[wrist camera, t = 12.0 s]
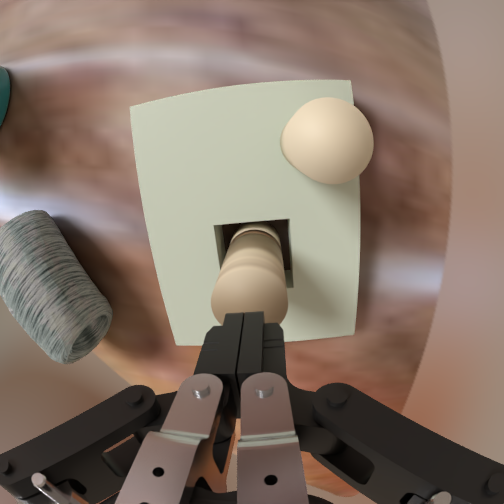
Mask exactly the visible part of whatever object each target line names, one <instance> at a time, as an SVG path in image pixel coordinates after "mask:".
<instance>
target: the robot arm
mask: <svg viewBox="0 0 504 504" xmlns="http://www.w3.org/2000/svg"><path fill="white" fill-rule="evenodd" d="M203 343H204V344H203V345H202V348H201V352H200V355H199V358H198V361H197V365H196V368H195V371H194V375H193V376H191V377H189V378H187V379H186V380H185V381H183V383H182V384H181V385H180V388H179V390H178V391H175V392H172V393H166V394H161V395H155V393H154V391H153V390H152V389H151V388H149V387H147V386H144V385H134V386H130V387H128V388H126V389H124V390H122V391H121V392H119V393H117V394H115V395H114V396H112V397H110V398H109V399H107V400H105V401H103V402H101V403H100V404H98V405H96V406H94V407H92V408H91V409H89V410H87V411H85V412H83V413H81V414H80V415H78V416H76V417H74V418H72V419H70V420H69V421H67V422H65V423H63V424H61V425H59V426H57V427H55V428H53V429H51V430H50V431H48V432H46V433H44V434H42V435H40V436H38V437H36V438H34V439H32V440H30V441H28V442H26V443H24V444H21V445H20V446H17V447H15V448H13V449H11V450H9V451H7V452H5V453H2V454H1V455H0V485H1V486H2V487H3V488H4V489H6V490H7V491H8V492H9V493H11V495H12V496H13V497H14V498H15V500H16V502H17V504H96V503H98V502H100V501H102V500H104V499H106V498H107V497H109V496H111V495H113V494H114V493H116V492H118V491H119V490H121V491H120V492H118V493H116V494H114V495H113V496H111V497H110V498H108V499H107V500H105V501H103V502H101V503H100V504H333V503H331V502H329V501H327V500H325V499H322V498H319V497H316V496H313V495H308V494H307V488H306V482H305V476H304V470H303V464H302V458H301V452H300V451H305V452H310V453H311V455H312V456H313V457H314V458H315V459H316V460H317V461H319V462H320V463H321V464H322V465H324V466H325V467H326V468H328V469H329V470H330V471H332V472H333V473H334V474H336V475H337V476H338V477H340V478H341V479H342V480H344V481H345V482H346V483H348V484H349V485H351V486H352V487H353V488H355V489H356V490H358V491H359V492H361V493H362V494H364V495H365V496H366V497H368V498H370V499H371V500H373V501H374V502H376V503H377V504H504V465H503V464H500V463H498V462H495V461H493V460H491V459H489V458H487V457H484V456H482V455H480V454H478V453H476V452H474V451H471V450H469V449H467V448H465V447H463V446H461V445H459V444H457V443H454V442H453V441H451V440H449V439H447V438H445V437H443V436H441V435H439V434H437V433H435V432H433V431H431V430H429V429H427V428H425V427H423V426H421V425H419V424H418V423H416V422H414V421H412V420H410V419H408V418H406V417H405V416H403V415H401V414H399V413H397V412H396V411H394V410H392V409H390V408H388V407H387V406H385V405H383V404H381V403H380V402H378V401H376V400H374V399H373V398H371V397H369V396H368V395H366V394H364V393H362V392H361V391H359V390H357V389H356V388H354V387H352V386H350V385H348V384H344V383H331V384H327V385H325V386H322V387H321V388H319V389H318V390H317V391H316V392H312V391H306V390H302V389H299V388H297V387H295V386H293V385H292V384H291V383H290V382H289V380H288V379H287V375H286V361H285V346H284V332H283V329H282V327H281V326H280V325H279V324H278V323H265V318H264V311H256V312H245V313H244V312H240V313H226V314H225V318H224V322H223V326H213V327H212V328H211V329H210V330H209V331H208V332H207V333H206V336H205V339H204V342H203ZM236 418H241V438H240V440H238V446H237V491H232V492H227V485H226V478H227V473H228V468H229V464H230V459H231V455H232V450H233V446H234V441H235V435H236V434H235V424H236ZM131 434H134V437H132V438H131V439H129V440H127V441H126V442H124V443H122V444H121V445H119V446H118V447H116V448H114V449H113V450H111V451H109V452H104V451H105V450H106V449H108V448H110V447H111V446H113V445H114V444H116V443H118V442H120V441H121V440H123V439H125V438H126V437H128V436H130V435H131Z"/></svg>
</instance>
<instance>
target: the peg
mask: <svg viewBox="0 0 504 504" xmlns="http://www.w3.org/2000/svg"><path fill="white" fill-rule="evenodd" d="M211 308H212V312H213V314H214V316H215V318H216V320H217V321H218V322H219V323H220V324H221V325H222V326H223V322H224V318H225V314H226V313H240V312H244V313H245V312H256V311H264V318H265V323H278V324H279V325H280V324H281V323H282V321H283V320H284V318H285V316H286V314H287V311H288V297H287V289H286V281H285V273H284V266H283V258H282V251H281V243H280V237H279V234H278V232H277V231H276V229H275V228H274V227H273V226H272V225H271V224H269V223H267V222H265V221H255V222H244V223H243V224H241V225H240V226H239V227H238V228H237V229H236V231H235V232H234V235H233V237H232V240H231V243H230V245H229V248H228V251H227V254H226V256H225V259H224V262H223V265H222V267H221V270H220V273H219V276H218V278H217V281H216V284H215V287H214V289H213V292H212V296H211Z"/></svg>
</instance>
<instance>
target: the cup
mask: <svg viewBox="0 0 504 504" xmlns="http://www.w3.org/2000/svg"><path fill="white" fill-rule="evenodd" d="M9 97H10V79H9V75H8V72H7V71H6V69H5V68H4V67H2V66H0V126H1V124H2V122H3V120H4V117H5V114H6V111H7V108H8V103H9Z"/></svg>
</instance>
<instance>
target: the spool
mask: <svg viewBox="0 0 504 504" xmlns="http://www.w3.org/2000/svg"><path fill="white" fill-rule="evenodd" d="M0 295H1V297H2V299H3V300H4V302H5V304H6V305H7V307H8V309H9V311H10V312H11V314H12V315H13V317H14V318H15V319H16V320H17V321H18V323H19V324H20V325H21V326H22V328H23V329H24V330H25V331H26V332H27V334H28V335H29V336H30V337H31V338H32V339H33V340H34V341H35V342H36V343H37V344H38V345H39V346H40V347H41V348H42V349H43V350H44V351H45V352H46V353H47V355H48V356H49V357H50V358H51V359H53V360H54V361H56V362H60V363H63V364H70V363H74V362H76V361H78V360H80V359H81V358H83V357H84V356H86V355H87V354H88V353H89V352H91V351H92V350H93V349H94V348H95V347H96V346H97V345H98V344H99V342H100V341H101V340H102V338H103V337H104V336H105V335H106V333H107V331H108V329H109V327H110V324H111V321H112V317H113V311H112V308H111V306H110V304H109V302H108V300H107V298H106V297H104V296H103V295H102V294H101V293H100V291H99V290H98V289H97V287H96V285H95V284H94V283H93V282H92V281H91V279H90V278H89V276H88V275H87V273H86V271H85V270H84V269H83V267H82V266H81V264H80V263H79V262H78V260H77V258H76V256H75V255H74V253H73V251H72V250H71V248H70V247H69V245H68V244H67V242H66V240H65V239H64V237H63V235H62V234H61V233H60V230H59V228H58V227H57V225H56V224H55V223H54V221H53V219H52V218H51V217H50V215H49V214H48V213H47V212H45V211H43V210H33V211H28V212H25V213H23V214H21V215H19V216H17V217H15V218H13V219H12V220H10V221H9V222H7V223H6V224H5V225H3V226H2V227H0Z"/></svg>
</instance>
